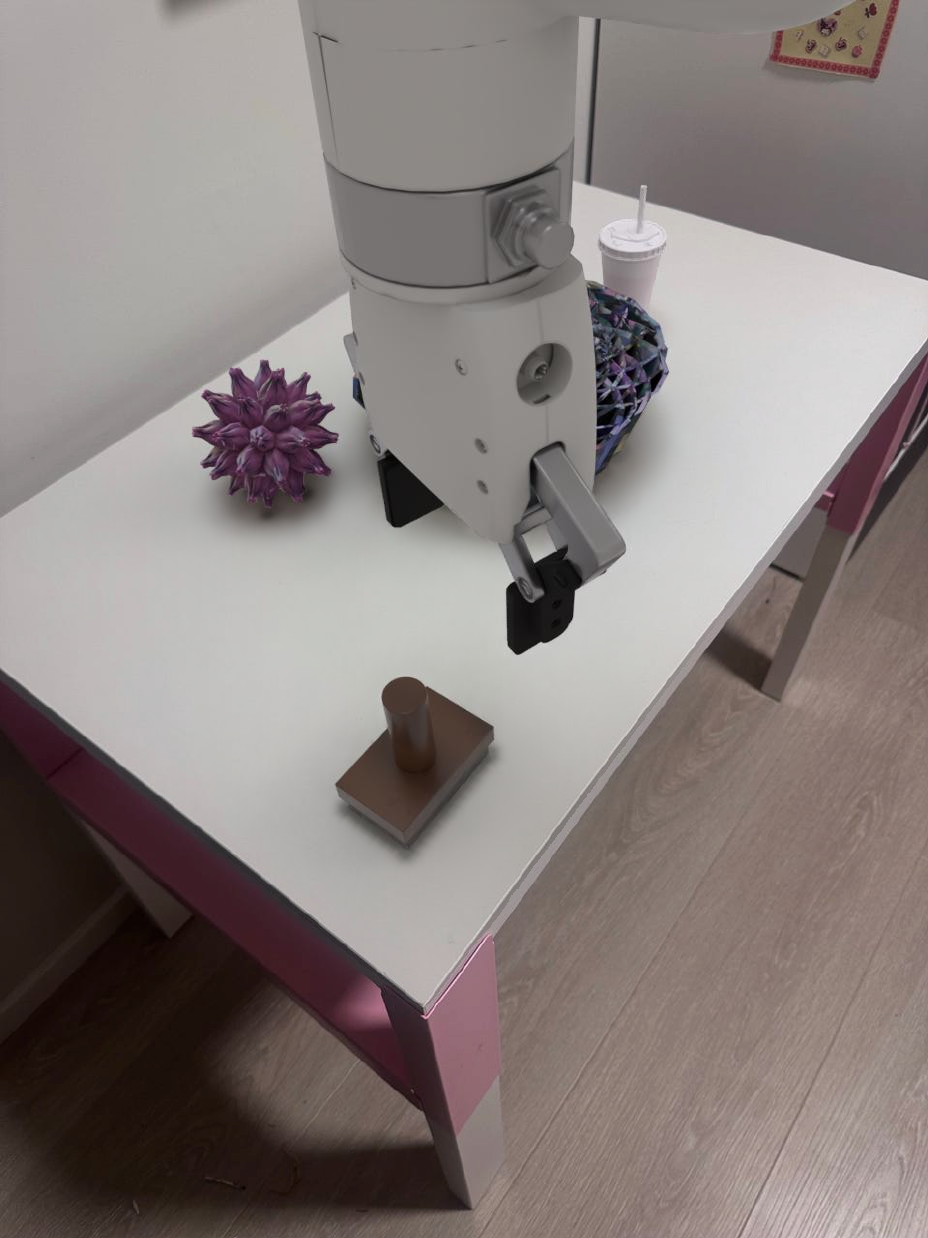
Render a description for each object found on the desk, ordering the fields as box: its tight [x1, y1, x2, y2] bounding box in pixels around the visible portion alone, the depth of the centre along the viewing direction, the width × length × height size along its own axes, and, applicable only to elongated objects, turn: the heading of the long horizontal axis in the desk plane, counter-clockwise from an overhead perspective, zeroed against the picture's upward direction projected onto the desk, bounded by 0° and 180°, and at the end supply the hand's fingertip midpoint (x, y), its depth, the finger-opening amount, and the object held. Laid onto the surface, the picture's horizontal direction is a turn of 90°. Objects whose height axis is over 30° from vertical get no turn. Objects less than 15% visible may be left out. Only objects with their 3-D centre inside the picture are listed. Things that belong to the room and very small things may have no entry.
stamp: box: [334, 676, 495, 850], centre depth 53 cm, size 9×6×10 cm, turn 143°
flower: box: [191, 359, 340, 508], centre depth 72 cm, size 12×12×12 cm
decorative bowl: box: [352, 279, 670, 510], centre depth 76 cm, size 26×28×10 cm
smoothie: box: [597, 184, 668, 314], centre depth 83 cm, size 6×6×14 cm
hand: (474, 570), depth 41 cm, fingers open, 9 cm apart
